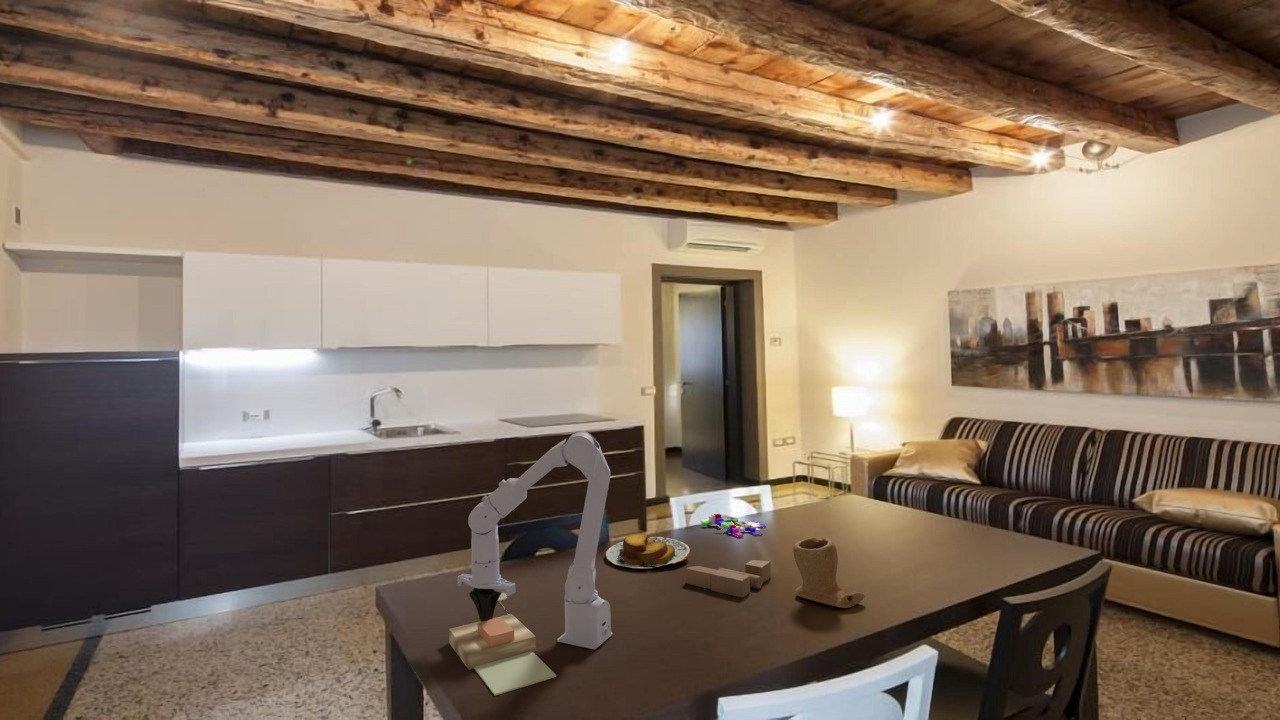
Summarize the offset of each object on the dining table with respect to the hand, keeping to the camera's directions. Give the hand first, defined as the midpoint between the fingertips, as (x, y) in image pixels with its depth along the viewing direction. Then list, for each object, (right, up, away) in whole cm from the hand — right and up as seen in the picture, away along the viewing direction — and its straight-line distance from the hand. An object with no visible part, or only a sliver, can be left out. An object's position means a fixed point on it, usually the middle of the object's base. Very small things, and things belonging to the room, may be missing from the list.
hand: (486, 622), depth 134 cm
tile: (+3, -1, -4) cm, 5 cm away
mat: (+9, -4, -14) cm, 17 cm away
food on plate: (+35, -4, +54) cm, 65 cm away
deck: (+2, -4, -3) cm, 5 cm away
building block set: (+66, -4, +87) cm, 109 cm away
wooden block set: (+57, -4, +33) cm, 66 cm away
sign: (-1, -5, +20) cm, 21 cm away
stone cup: (+78, -3, +18) cm, 80 cm away
